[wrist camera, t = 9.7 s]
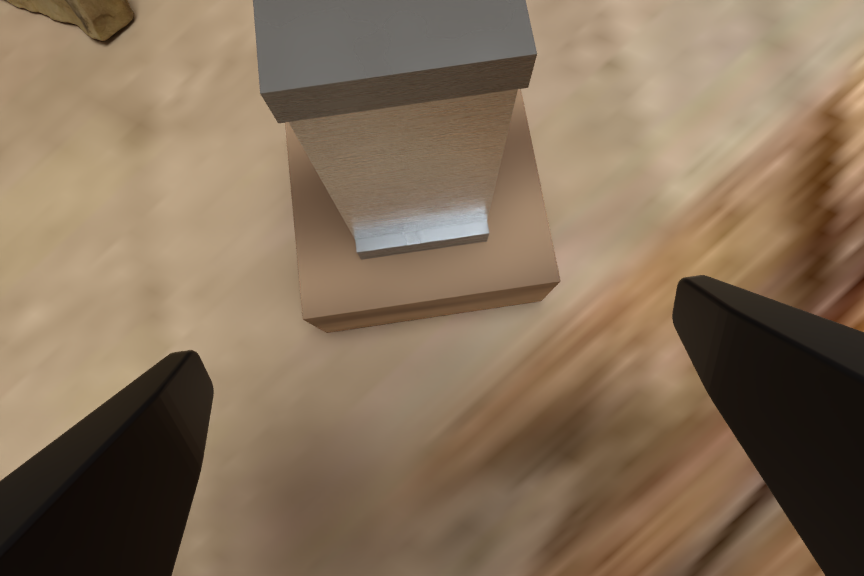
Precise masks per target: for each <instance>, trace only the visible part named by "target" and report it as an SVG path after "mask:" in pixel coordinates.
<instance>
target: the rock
mask: <svg viewBox="0 0 864 576" xmlns="http://www.w3.org/2000/svg"><path fill="white" fill-rule="evenodd" d="M6 1H8V2H9V3H11V4H13V5H14V6H16V7H18V8H24V9H27V10H28V11H31V12H40V13H42V14H44V15H48V16H49V17H50V18H51V19H53V20H57V21H60V22H69V23H73V24H76V25H78V26H79V27H80V28H81V29H82V30H83V31H84V32H85V33H86V34H87V35H88V36H90V37H91V38H93V39H97V40H100V41H105V40H107V39H109V38H110V37H111V36H112V35H113V34H115V33H116V32H117V31H118V30H120V29H121V28H123V27H125V26H126V25H127V24H128V23H129V22H130V21H131V20H132V19H133V15H134V13H133V11H132V10H131V8H130V6H129V3H128V1H127V0H6Z"/></svg>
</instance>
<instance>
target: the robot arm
mask: <svg viewBox="0 0 864 576" xmlns="http://www.w3.org/2000/svg"><path fill="white" fill-rule="evenodd" d="M672 318H673V324H674V327H675V329H676V331H677V333H678V335H679V337H680V339H681V341H682V343H683V345H684V347H685V349H686V351H687V353H688V355H689V357H690V359H691V361H692V363H693V365H694V367H695V369H696V371H697V373H698V375H699V377H700V379H701V381H702V383H703V385H704V387H705V389H706V391H707V393H708V394H709V396H710V398H711V399H712V401H713V403H714V404H715V406H716V407H717V409H718V410H719V412H720V413H721V415H722V417H723V418H724V420H725V421H726V423H727V424H728V426H729V427H730V429H731V430H732V432H733V434H734V435H735V437H736V438H737V440H738V441H739V443H740V444H741V446H742V447H743V449H744V451H745V452H746V454H747V455H748V457H749V458H750V460H751V461H752V463H753V464H754V466H755V468H756V469H757V471H758V472H759V474H760V475H761V477H762V478H763V480H764V481H765V483H766V485H767V486H768V488H769V489H770V491H771V492H772V494H773V495H774V497H775V498H776V500H777V502H778V503H779V505H780V506H781V508H782V509H783V511H784V512H785V514H786V515H787V517H788V519H789V520H790V522H791V523H792V525H793V526H794V528H795V529H796V531H797V532H798V534H799V535H800V537H801V539H802V540H803V542H804V543H805V545H806V546H807V548H808V549H809V551H810V552H811V554H812V556H813V557H814V559H815V560H816V562H817V563H818V565H819V566H820V568H821V569H822V571H823V573H824V574H825V576H864V332H861V331H859V330H856V329H853V328H850V327H848V326H845V325H842V324H839V323H836V322H834V321H831V320H828V319H825V318H822V317H820V316H817V315H814V314H811V313H809V312H806V311H803V310H800V309H797V308H795V307H792V306H789V305H786V304H784V303H781V302H778V301H775V300H772V299H770V298H767V297H764V296H761V295H758V294H756V293H753V292H750V291H747V290H745V289H742V288H739V287H736V286H733V285H731V284H728V283H725V282H722V281H720V280H717V279H714V278H711V277H708V276H705V275H698V276H692V277H685V278H682V279H681V280H680V281H679V283H678V285H677V290H676V296H675V302H674V308H673V314H672ZM213 394H214V390H213V384H212V381H211V379H210V377H209V375H208V373H207V371H206V369H205V367H204V365H203V363H202V360H201V358H200V356H199V355H198V353H197V352H195V351H193V350H188V351H181V352H174V353H171V354H169V355H168V356H166V357H165V358H164V359H162V360H161V361H160V362H158V363H157V364H156V365H154V366H153V367H152V368H150V369H149V370H148V371H146V372H145V373H144V374H142V375H141V376H140V377H138V378H137V379H136V380H134V381H133V382H132V383H130V384H129V385H128V386H126V387H125V388H124V389H122V390H121V391H120V392H118V393H117V394H116V395H114V396H113V397H112V398H110V399H109V400H108V401H106V402H105V403H104V404H102V405H101V406H100V407H98V408H97V409H96V410H94V411H93V412H92V413H90V414H89V415H88V416H86V417H85V418H84V419H82V420H81V421H80V422H78V423H77V424H76V425H74V426H73V427H72V428H70V429H69V430H68V431H66V432H65V433H64V434H62V435H61V436H60V437H58V438H57V439H56V440H54V441H53V442H52V443H50V444H49V445H48V446H46V447H45V448H44V449H42V450H41V451H40V452H38V453H37V454H36V455H34V456H33V457H32V458H30V459H29V460H28V461H26V462H25V463H24V464H22V465H21V466H20V467H18V468H17V469H16V470H14V471H13V472H12V473H10V474H9V475H8V476H6V477H5V478H4V479H2V480H1V481H0V576H172V572H173V569H174V565H175V562H176V558H177V554H178V551H179V547H180V544H181V540H182V537H183V533H184V530H185V526H186V522H187V519H188V515H189V512H190V508H191V505H192V501H193V498H194V494H195V491H196V487H197V483H198V480H199V476H200V472H201V468H202V463H203V457H204V451H205V445H206V439H207V433H208V426H209V420H210V414H211V408H212V401H213Z"/></svg>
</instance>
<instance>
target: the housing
mask: <svg viewBox="0 0 864 576" xmlns="http://www.w3.org/2000/svg"><path fill="white" fill-rule="evenodd" d="M253 6H254V19H255V32H256V45H257V58H258V71H259V84H260V94H261V96H262V97H263V99H264V101H265V102H266V104H267V105H268V107H269V109H270V110H271V112H272V114H273V115H274V117H275V119H276V120H277V122H278V123H285V122H289V124H290V126H291V128H292V129H293V131H294V133H295V135H296V136H297V138H298V140H299V142H300V143H301V145H302V147H303V149H304V150H305V152H306V154H307V156H308V157H309V159H310V161H311V163H312V165H313V166H314V168H315V170H316V172H317V173H318V175H319V177H320V179H321V180H322V182H323V184H324V186H325V187H326V189H327V191H328V193H329V194H330V196H331V198H332V200H333V202H334V203H335V205H336V207H337V209H338V210H339V212H340V214H341V216H342V217H343V219H344V221H345V223H346V224H347V226H348V228H349V230H350V232H351V233H352V235H353V237H354V239H355V242H356V251H357V254H358V256H359V257H360V259H361V260H363V259H370V258H377V257H384V256H390V255H397V254H404V253H411V252H418V251H425V250H432V249H439V248H446V247H452V246H459V245H466V244H473V243H480V242H487V240H488V236H489V228H488V223H487V219H488V215H489V211H490V206H491V202H492V198H493V194H494V189H495V185H496V181H497V177H498V172H499V168H500V164H501V159H502V155H503V151H504V147H505V142H506V138H507V134H508V130H509V125H510V121H511V117H512V113H513V108H514V104H515V100H516V96H517V91H518V89H522V88H528V86H529V82H530V78H531V75H532V71H533V67H534V63H535V60H536V56H537V51H536V47H535V42H534V38H533V33H532V28H531V24H530V19H529V14H528V10H527V5H526V1H525V0H253Z"/></svg>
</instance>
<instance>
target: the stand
mask: <svg viewBox="0 0 864 576" xmlns="http://www.w3.org/2000/svg"><path fill="white" fill-rule="evenodd" d="M285 127H286V138H287V150H288V161H289V172H290V183H291V194H292V205H293V216H294V227H295V238H296V249H297V261H298V272H299V283H300V294H301V305H302V316H303V320H305V321H307V322H309V323H310V324H312V325H314V326H316V327H317V328H319V329H321V330H323V331H325V332H326V333H328V332H335V331H342V330H348V329H355V328H362V327H369V326H375V325H382V324H389V323H396V322H403V321H409V320H416V319H423V318H430V317H436V316H443V315H450V314H457V313H463V312H470V311H477V310H484V309H490V308H497V307H504V306H511V305H517V304H524V303H531V302H538V301H542V300H543V299H544V298H545V297H546V296H547V295H548V294H549V292H550V291H551V290H552V289H553V288H554V287H555V286H556V285H557V284H558V283H559V282H560V276H559V271H558V266H557V262H556V257H555V252H554V247H553V242H552V237H551V233H550V228H549V223H548V218H547V213H546V208H545V204H544V199H543V194H542V189H541V184H540V179H539V175H538V170H537V165H536V160H535V155H534V150H533V146H532V141H531V136H530V131H529V126H528V121H527V117H526V112H525V107H524V102H523V97H522V93H521V89H518V91H517V96H516V100H515V104H514V108H513V113H512V117H511V121H510V125H509V130H508V134H507V138H506V142H505V147H504V151H503V155H502V159H501V164H500V168H499V172H498V177H497V181H496V185H495V189H494V194H493V198H492V202H491V206H490V211H489V215H488V219H487V223H488V228H489V236H488V240H487V242H480V243H473V244H466V245H459V246H452V247H446V248H439V249H432V250H425V251H418V252H411V253H404V254H397V255H390V256H384V257H377V258H370V259H363V260H361V259H360V257H359V256H358V254H357V251H356V242H355V239H354V237H353V235H352V233H351V232H350V230H349V228H348V226H347V224H346V223H345V221H344V219H343V217H342V216H341V214H340V212H339V210H338V209H337V207H336V205H335V203H334V202H333V200H332V198H331V196H330V194H329V193H328V191H327V189H326V187H325V186H324V184H323V182H322V180H321V179H320V177H319V175H318V173H317V172H316V170H315V168H314V166H313V165H312V163H311V161H310V159H309V157H308V156H307V154H306V152H305V150H304V149H303V147H302V145H301V143H300V142H299V140H298V138H297V136H296V135H295V133H294V131H293V129H292V128H291V126H290V124H289V122H285Z"/></svg>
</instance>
